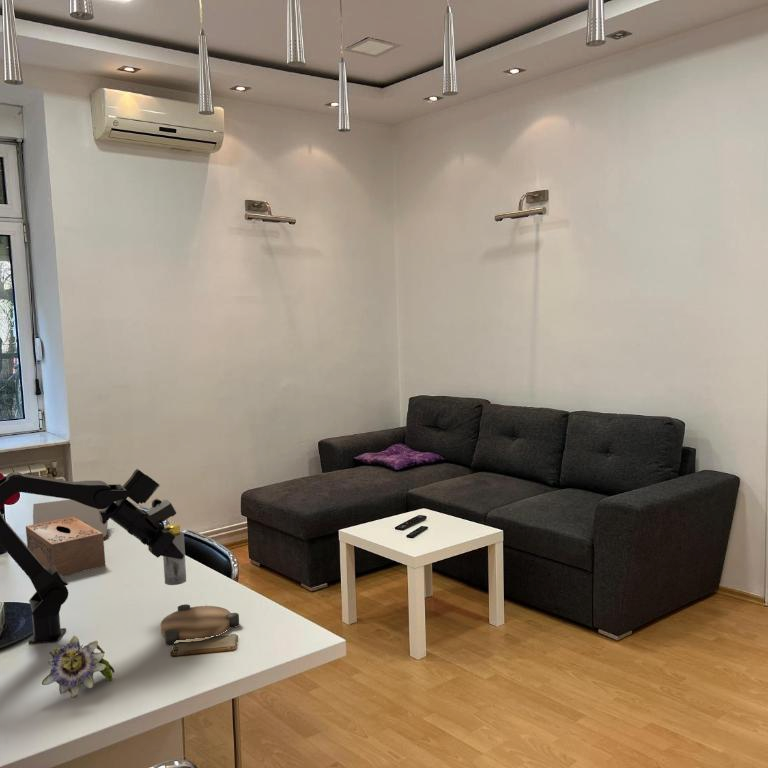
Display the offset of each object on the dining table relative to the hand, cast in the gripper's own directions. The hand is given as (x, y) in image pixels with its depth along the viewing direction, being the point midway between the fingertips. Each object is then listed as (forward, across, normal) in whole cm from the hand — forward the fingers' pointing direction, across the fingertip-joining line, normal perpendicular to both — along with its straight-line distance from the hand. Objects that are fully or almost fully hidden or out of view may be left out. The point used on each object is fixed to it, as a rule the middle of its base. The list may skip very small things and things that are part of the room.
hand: (179, 554), depth 193 cm
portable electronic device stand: (0, +82, +20) cm, 84 cm away
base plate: (+9, -15, +10) cm, 20 cm away
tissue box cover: (-4, +57, +24) cm, 62 cm away
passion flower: (-10, -29, +30) cm, 43 cm away
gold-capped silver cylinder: (+4, 0, +6) cm, 7 cm away
